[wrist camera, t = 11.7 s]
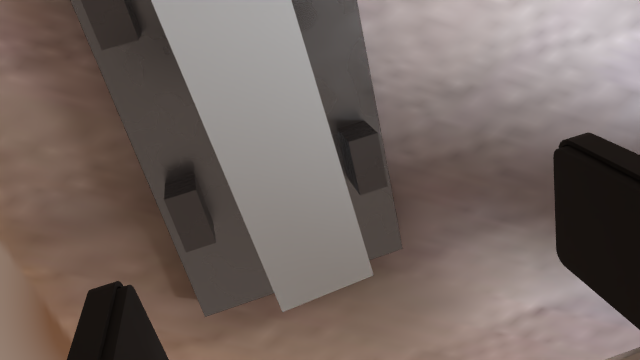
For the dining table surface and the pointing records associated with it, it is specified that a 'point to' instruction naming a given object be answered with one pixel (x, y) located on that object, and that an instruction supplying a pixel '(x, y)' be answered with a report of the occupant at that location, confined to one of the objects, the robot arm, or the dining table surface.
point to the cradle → (197, 151)
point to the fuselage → (270, 140)
